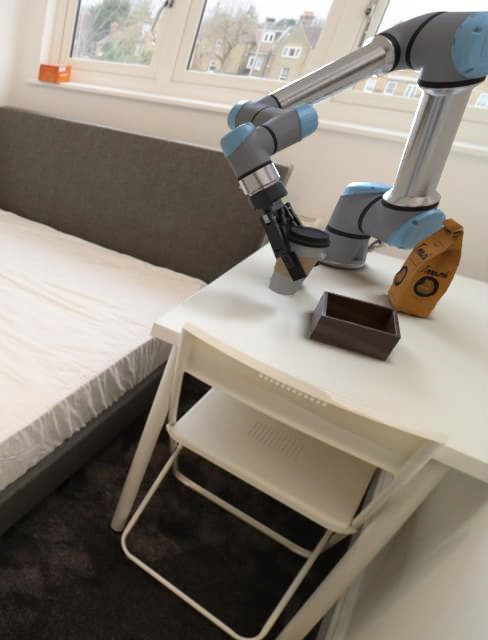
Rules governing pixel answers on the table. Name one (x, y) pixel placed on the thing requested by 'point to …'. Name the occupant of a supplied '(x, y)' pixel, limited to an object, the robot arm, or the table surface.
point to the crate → (355, 325)
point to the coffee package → (428, 271)
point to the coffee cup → (299, 257)
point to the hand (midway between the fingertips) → (307, 272)
